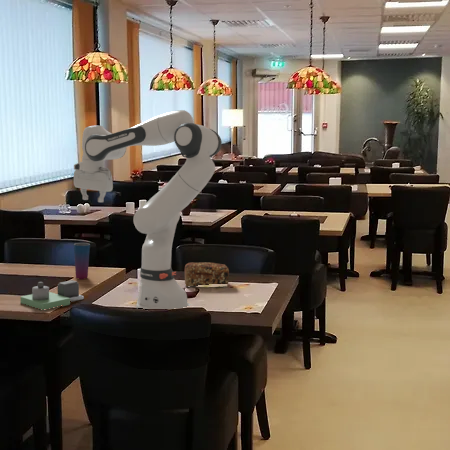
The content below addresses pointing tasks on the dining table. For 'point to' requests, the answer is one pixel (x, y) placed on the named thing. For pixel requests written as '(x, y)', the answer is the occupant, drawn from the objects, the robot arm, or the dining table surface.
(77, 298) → the bracket
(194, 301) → the dining table surface
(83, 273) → the cup
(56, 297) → the deck
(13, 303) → the dining table surface
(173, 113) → the robot arm
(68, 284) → the grey piece
